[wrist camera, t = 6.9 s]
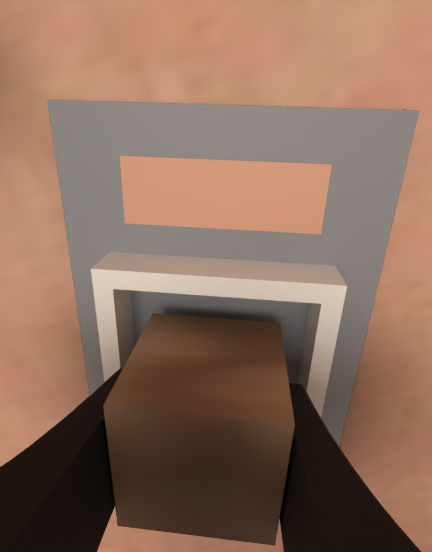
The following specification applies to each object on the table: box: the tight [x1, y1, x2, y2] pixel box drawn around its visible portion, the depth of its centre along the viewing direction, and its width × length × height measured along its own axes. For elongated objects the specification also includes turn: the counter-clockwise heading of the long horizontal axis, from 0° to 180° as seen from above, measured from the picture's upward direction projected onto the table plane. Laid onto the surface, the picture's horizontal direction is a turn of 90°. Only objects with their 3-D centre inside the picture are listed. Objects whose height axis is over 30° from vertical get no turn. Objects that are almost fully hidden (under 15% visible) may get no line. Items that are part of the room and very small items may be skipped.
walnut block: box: [103, 313, 295, 545], centre depth 10 cm, size 4×4×4 cm
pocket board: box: [47, 100, 419, 447], centre depth 12 cm, size 10×16×2 cm, turn 178°
